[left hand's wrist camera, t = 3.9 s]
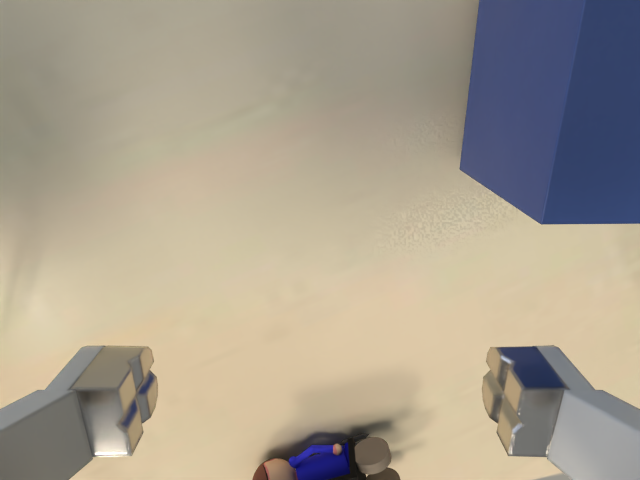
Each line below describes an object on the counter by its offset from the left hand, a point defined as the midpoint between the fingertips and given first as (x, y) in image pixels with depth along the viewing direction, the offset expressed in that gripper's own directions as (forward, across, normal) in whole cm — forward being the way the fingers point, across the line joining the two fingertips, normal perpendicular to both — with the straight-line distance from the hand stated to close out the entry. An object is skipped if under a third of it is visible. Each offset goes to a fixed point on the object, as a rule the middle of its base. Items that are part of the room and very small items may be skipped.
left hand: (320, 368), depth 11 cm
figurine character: (+27, 0, +32) cm, 42 cm away
